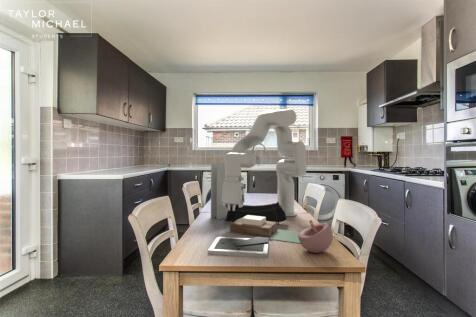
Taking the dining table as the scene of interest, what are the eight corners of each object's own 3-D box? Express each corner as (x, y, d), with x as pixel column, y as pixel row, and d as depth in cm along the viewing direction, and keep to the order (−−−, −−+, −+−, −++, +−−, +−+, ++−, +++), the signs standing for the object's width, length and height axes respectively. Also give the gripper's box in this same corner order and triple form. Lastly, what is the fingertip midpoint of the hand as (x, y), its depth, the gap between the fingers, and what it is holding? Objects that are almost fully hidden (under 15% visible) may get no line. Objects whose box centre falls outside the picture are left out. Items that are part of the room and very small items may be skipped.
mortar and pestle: (295, 245, 108) (296, 216, 108) (327, 246, 108) (328, 216, 107) (300, 257, 96) (301, 224, 96) (336, 258, 96) (337, 225, 95)
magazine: (219, 205, 140) (278, 189, 138) (220, 204, 143) (277, 188, 142) (229, 238, 140) (287, 222, 139) (230, 236, 143) (287, 220, 142)
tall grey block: (230, 213, 162) (231, 161, 161) (237, 215, 158) (237, 162, 157) (210, 217, 152) (211, 162, 151) (217, 219, 148) (217, 162, 147)
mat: (278, 230, 130) (278, 229, 130) (309, 233, 124) (309, 233, 124) (268, 239, 116) (268, 238, 116) (303, 244, 110) (303, 243, 110)
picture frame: (268, 244, 111) (217, 241, 114) (268, 237, 111) (217, 234, 114) (267, 259, 96) (207, 256, 99) (267, 251, 96) (207, 248, 99)
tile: (247, 220, 131) (247, 214, 131) (265, 222, 128) (265, 216, 128) (241, 223, 125) (241, 218, 125) (260, 225, 121) (260, 220, 121)
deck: (240, 226, 136) (240, 217, 136) (276, 230, 128) (276, 222, 128) (229, 232, 125) (229, 223, 125) (268, 238, 117) (268, 228, 117)
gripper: (250, 179, 131) (250, 218, 131) (222, 178, 137) (221, 215, 137) (244, 181, 124) (244, 222, 124) (214, 179, 130) (214, 218, 130)
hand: (232, 218), depth 131 cm, fingers closed
